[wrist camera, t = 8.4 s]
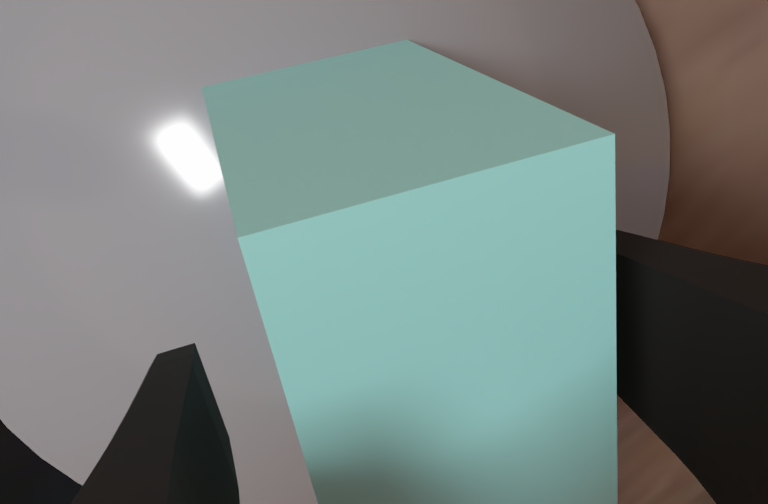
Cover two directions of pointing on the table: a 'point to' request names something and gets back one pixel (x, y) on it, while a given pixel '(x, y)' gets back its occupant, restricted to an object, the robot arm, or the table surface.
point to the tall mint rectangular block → (429, 277)
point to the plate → (208, 192)
